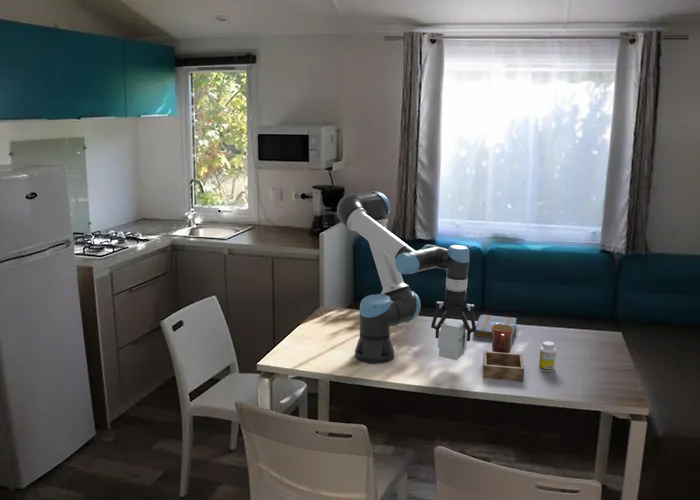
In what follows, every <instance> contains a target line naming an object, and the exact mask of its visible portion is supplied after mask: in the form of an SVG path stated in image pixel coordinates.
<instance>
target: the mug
mask: <svg viewBox="0 0 700 500" xmlns="http://www.w3.org/2000/svg"><path fill="white" fill-rule="evenodd" d="M491 329H492V333H493V338H492V340H491V352H501V353H511V351H512V334H513V331H514V327H512V326H510V325H506V324H495V325H492V326H491Z"/></svg>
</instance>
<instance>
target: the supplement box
mask: <svg viewBox="0 0 700 500" xmlns="http://www.w3.org/2000/svg"><path fill="white" fill-rule="evenodd" d="M440 328H441V330H440V345H439V348H438V349H439V350H438V357H441V358H445V359H448V360H449V359H450V360H453V361H457V360H459V359H460V358H461V357H462V356H463V355H465V350H464V344H465V331H467V330H466V328H465V325H464V323H463V321H462V320H458V319H457V320H456V319H452V318H447V319H445V321H444V322H443V323H442V324H441V327H440Z"/></svg>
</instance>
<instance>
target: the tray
mask: <svg viewBox="0 0 700 500" xmlns="http://www.w3.org/2000/svg"><path fill="white" fill-rule="evenodd" d="M482 357H483V358H482V379H490V380H498V381H499V380H501V381H502V380H503V381H511V382H524V381H525V380H524V379H525V364H524V363H525V362H524V357H523V354H522V353H513V352H510V353H501V352H493V351H486V350H484V351H483V356H482Z"/></svg>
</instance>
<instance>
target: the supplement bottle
mask: <svg viewBox="0 0 700 500" xmlns="http://www.w3.org/2000/svg"><path fill="white" fill-rule="evenodd" d="M556 354H557V349H556V348H555V343H554V342H552V341H548V340H547V341H543V342H542V346H541V347H540V350H539V361H538V362H539V363H538V364H539V365H538V367H539V368H538V369H539V370H540V371H542V372H547V373H550V372H554V371H555V366H556V356H557V355H556Z"/></svg>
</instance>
